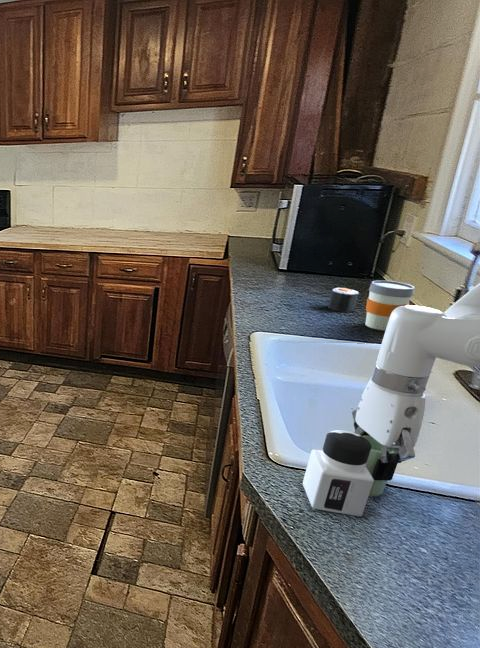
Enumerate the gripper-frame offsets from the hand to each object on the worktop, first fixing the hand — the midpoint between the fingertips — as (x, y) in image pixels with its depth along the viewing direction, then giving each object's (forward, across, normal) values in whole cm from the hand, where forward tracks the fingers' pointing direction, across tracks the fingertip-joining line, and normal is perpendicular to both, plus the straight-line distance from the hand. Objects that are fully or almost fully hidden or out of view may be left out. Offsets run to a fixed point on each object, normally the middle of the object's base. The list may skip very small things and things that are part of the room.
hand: (369, 467), depth 96 cm
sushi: (+4, +117, -62) cm, 132 cm away
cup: (+4, 0, 0) cm, 4 cm away
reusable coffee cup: (+4, +96, -63) cm, 115 cm away
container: (+4, -5, +9) cm, 11 cm away
